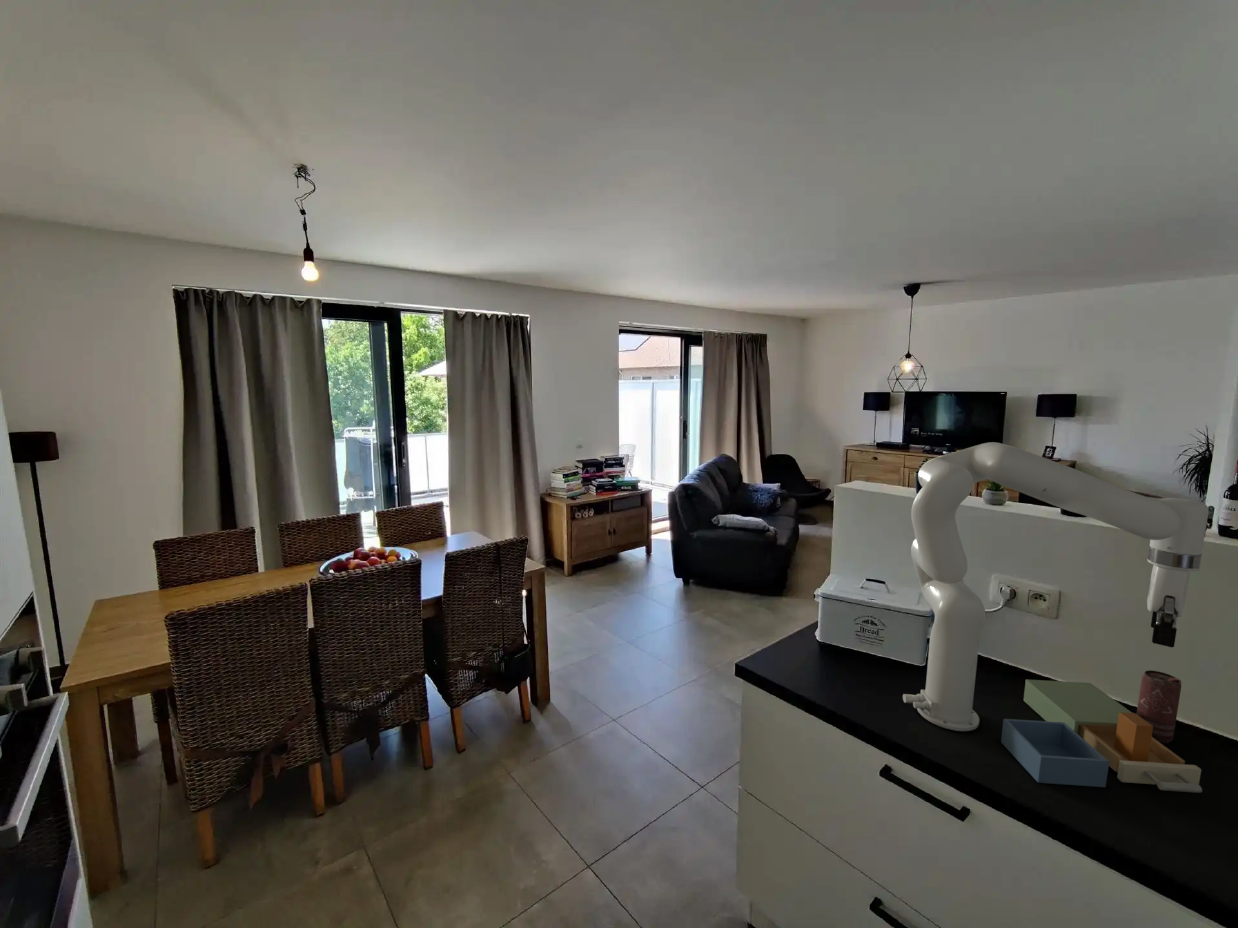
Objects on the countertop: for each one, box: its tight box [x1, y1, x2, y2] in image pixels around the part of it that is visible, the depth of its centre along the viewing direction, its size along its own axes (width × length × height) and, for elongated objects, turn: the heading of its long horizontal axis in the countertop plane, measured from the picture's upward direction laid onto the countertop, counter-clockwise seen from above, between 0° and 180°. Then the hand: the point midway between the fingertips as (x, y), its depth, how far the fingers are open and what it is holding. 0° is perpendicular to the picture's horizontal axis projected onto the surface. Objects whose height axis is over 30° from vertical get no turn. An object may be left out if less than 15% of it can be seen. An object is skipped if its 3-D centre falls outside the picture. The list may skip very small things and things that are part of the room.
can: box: [1136, 669, 1182, 744], centre depth 118 cm, size 6×6×14 cm
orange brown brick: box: [1114, 712, 1153, 762], centre depth 109 cm, size 3×4×8 cm
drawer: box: [1078, 725, 1203, 794], centre depth 109 cm, size 20×13×4 cm
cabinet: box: [1023, 679, 1133, 734], centre depth 123 cm, size 17×15×6 cm
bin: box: [1000, 718, 1110, 788], centre depth 110 cm, size 12×12×6 cm
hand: (1161, 636), depth 113 cm, fingers open, 9 cm apart
